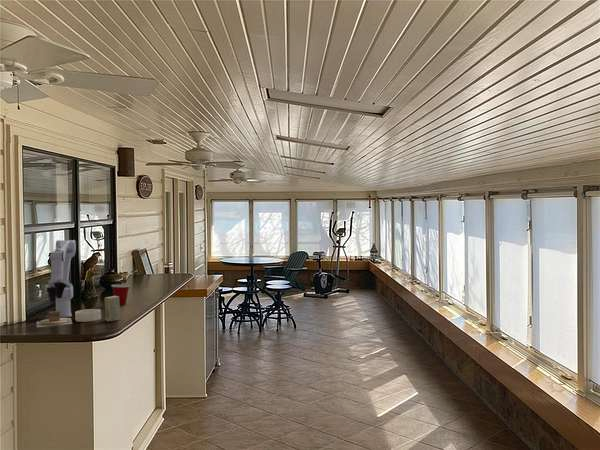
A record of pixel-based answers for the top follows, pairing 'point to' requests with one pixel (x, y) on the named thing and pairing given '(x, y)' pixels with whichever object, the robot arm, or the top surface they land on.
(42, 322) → the lid
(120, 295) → the plastic cup
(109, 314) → the skincare box
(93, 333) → the top surface
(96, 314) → the bowl
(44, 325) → the mat
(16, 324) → the top surface
